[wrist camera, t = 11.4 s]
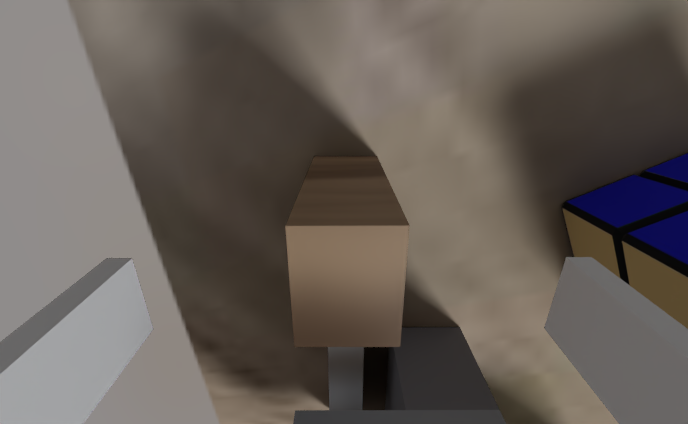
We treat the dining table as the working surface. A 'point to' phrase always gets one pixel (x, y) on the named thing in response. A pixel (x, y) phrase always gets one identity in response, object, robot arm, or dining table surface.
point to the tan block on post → (346, 267)
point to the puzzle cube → (639, 233)
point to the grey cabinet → (425, 385)
